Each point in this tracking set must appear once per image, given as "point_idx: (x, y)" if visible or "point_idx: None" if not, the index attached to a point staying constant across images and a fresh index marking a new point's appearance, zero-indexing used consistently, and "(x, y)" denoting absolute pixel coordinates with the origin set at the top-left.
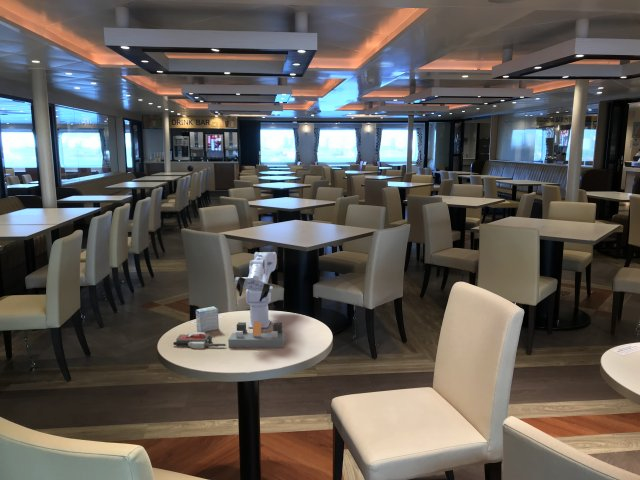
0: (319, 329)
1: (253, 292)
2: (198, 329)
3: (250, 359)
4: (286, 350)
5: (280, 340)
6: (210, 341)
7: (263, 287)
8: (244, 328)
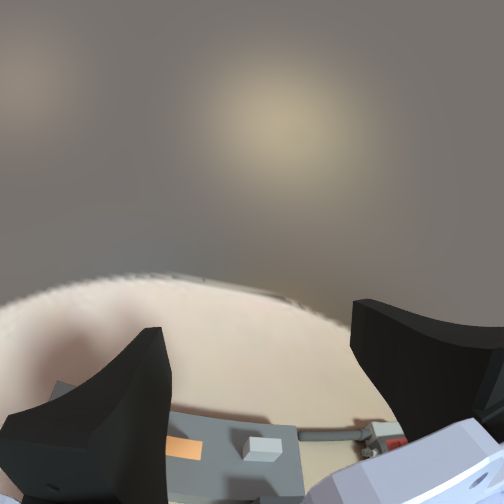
0: None
1: None
2: None
3: (183, 338)
4: (55, 373)
5: (66, 385)
6: None
7: (119, 400)
8: (253, 501)
